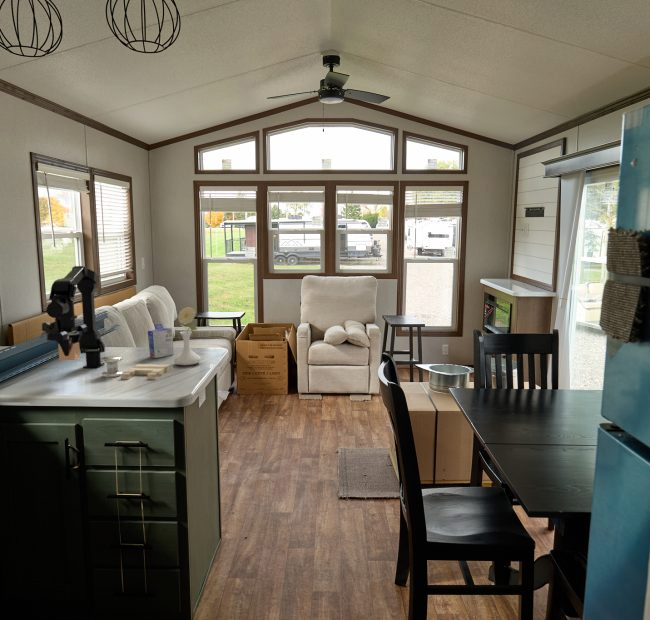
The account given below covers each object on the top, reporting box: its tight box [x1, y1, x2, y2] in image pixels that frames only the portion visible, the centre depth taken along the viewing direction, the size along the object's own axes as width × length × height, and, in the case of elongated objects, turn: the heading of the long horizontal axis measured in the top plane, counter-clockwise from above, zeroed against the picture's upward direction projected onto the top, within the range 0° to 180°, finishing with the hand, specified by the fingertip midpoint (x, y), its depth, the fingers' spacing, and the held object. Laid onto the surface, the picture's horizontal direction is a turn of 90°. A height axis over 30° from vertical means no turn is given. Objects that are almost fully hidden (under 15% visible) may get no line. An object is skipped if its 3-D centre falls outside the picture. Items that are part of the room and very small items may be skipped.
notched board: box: [120, 363, 172, 380], centre depth 228 cm, size 16×14×2 cm
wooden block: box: [57, 342, 81, 361], centre depth 216 cm, size 4×6×6 cm, turn 85°
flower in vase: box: [173, 306, 202, 366], centre depth 241 cm, size 13×11×25 cm
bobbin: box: [101, 355, 124, 379], centre depth 227 cm, size 8×8×7 cm
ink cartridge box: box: [147, 323, 175, 359], centre depth 259 cm, size 10×6×14 cm, turn 135°
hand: (69, 354), depth 216 cm, fingers closed on wooden block, 4 cm apart
